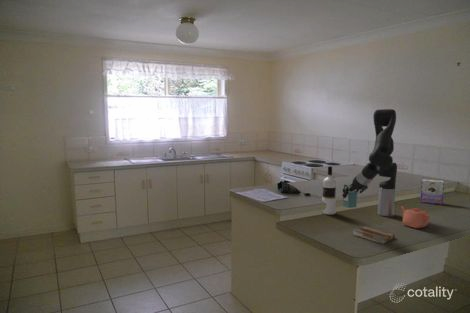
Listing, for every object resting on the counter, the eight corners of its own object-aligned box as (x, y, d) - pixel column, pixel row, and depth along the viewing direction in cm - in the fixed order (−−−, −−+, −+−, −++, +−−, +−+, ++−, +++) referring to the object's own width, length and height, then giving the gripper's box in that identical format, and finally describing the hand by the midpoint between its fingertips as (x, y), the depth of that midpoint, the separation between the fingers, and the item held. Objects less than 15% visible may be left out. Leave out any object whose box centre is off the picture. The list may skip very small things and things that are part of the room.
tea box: (350, 204, 193) (351, 183, 192) (356, 207, 188) (357, 185, 187) (342, 205, 191) (343, 184, 190) (348, 207, 187) (349, 186, 185)
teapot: (422, 231, 185) (424, 213, 184) (392, 222, 200) (394, 205, 199) (435, 228, 190) (436, 210, 189) (405, 219, 206) (406, 202, 205)
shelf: (364, 229, 188) (365, 224, 187) (394, 237, 176) (394, 231, 175) (352, 235, 179) (353, 229, 178) (383, 243, 167) (383, 237, 167)
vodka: (334, 215, 213) (336, 168, 209) (319, 214, 217) (321, 167, 213) (336, 212, 221) (338, 166, 217) (322, 210, 225) (323, 165, 221)
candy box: (442, 203, 245) (444, 180, 243) (442, 205, 240) (444, 182, 238) (420, 200, 252) (422, 178, 250) (420, 202, 247) (421, 179, 245)
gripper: (371, 172, 183) (355, 190, 195) (348, 173, 178) (334, 191, 191) (377, 184, 178) (361, 201, 191) (354, 185, 174) (339, 203, 186)
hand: (347, 196), depth 191 cm, fingers closed on tea box, 5 cm apart
